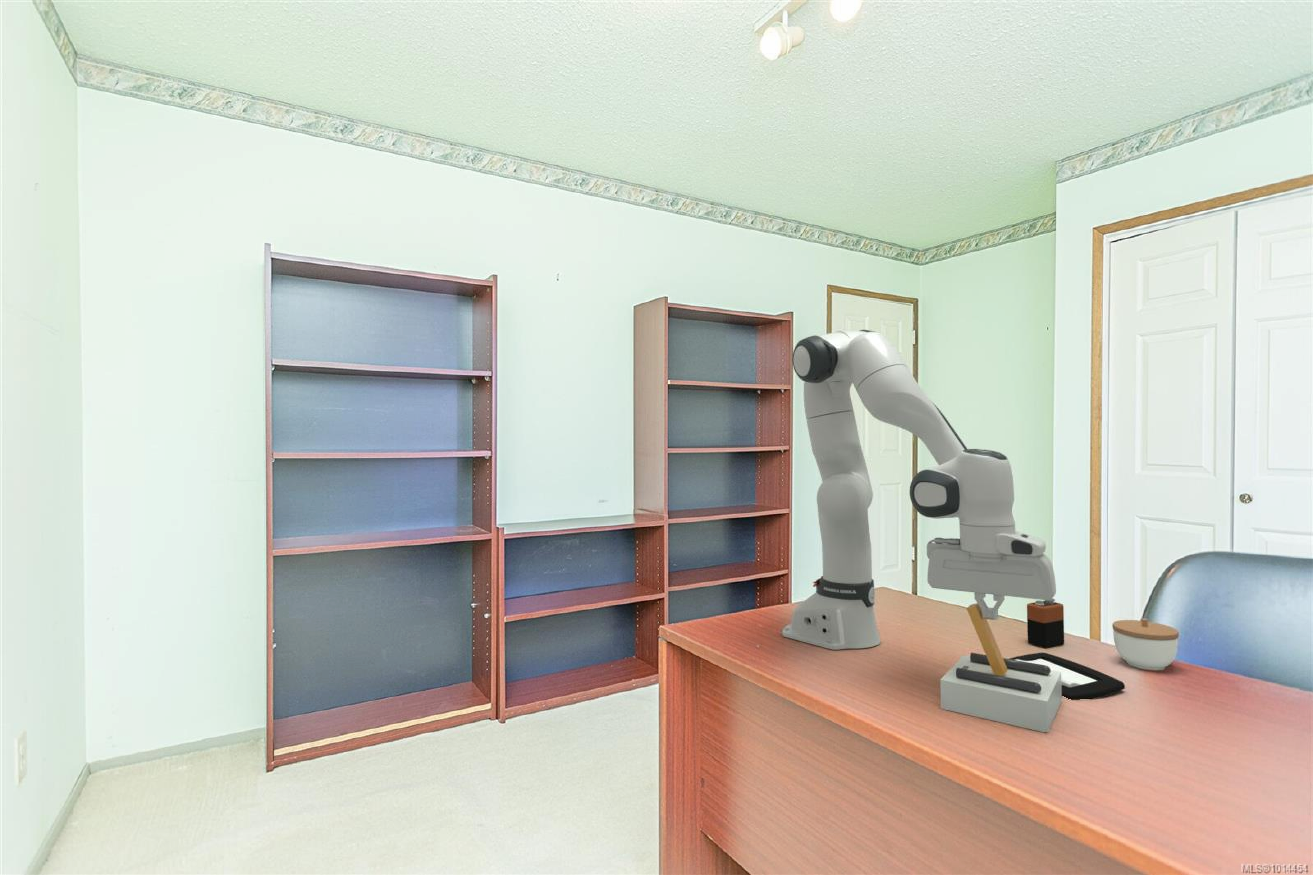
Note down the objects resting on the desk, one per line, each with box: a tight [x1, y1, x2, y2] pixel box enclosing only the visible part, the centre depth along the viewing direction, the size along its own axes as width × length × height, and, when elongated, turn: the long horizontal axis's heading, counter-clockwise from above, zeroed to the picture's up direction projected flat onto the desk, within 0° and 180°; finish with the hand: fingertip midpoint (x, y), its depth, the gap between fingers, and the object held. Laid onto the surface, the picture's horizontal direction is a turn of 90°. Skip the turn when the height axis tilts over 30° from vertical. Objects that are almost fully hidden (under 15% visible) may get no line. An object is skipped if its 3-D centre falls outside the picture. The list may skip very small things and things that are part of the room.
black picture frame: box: [1008, 652, 1126, 701], centre depth 125 cm, size 20×3×14 cm
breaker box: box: [939, 652, 1063, 734], centre depth 113 cm, size 16×16×7 cm
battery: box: [1026, 597, 1065, 649], centre depth 146 cm, size 4×7×10 cm, turn 113°
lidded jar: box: [1112, 618, 1180, 672], centre depth 131 cm, size 11×11×9 cm
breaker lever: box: [966, 602, 1008, 676], centre depth 115 cm, size 2×3×12 cm, turn 141°
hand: (990, 618), depth 115 cm, fingers closed
